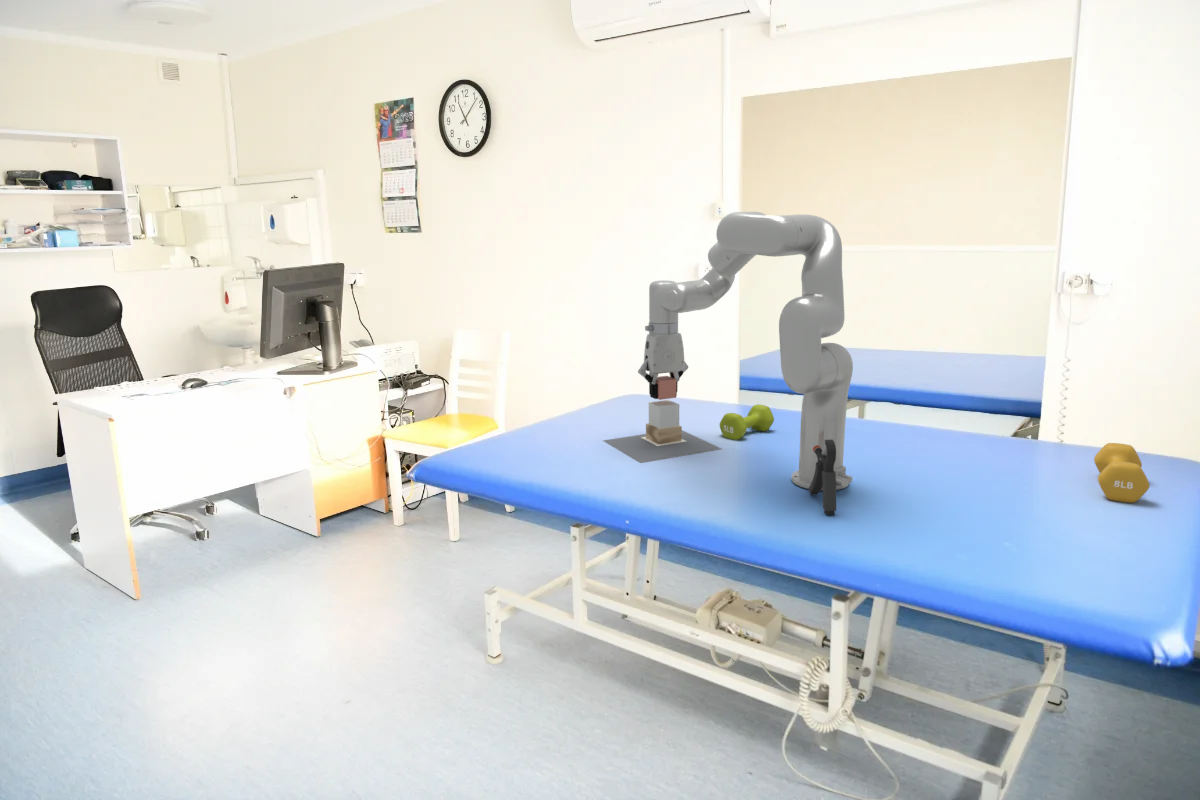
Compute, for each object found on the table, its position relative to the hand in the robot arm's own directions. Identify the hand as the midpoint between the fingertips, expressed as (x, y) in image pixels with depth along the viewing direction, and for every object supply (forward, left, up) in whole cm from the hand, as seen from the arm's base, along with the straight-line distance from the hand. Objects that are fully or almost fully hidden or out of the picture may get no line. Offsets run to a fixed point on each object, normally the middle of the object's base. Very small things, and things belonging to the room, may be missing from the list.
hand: (663, 395), depth 206 cm
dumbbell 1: (-6, -23, -13) cm, 27 cm away
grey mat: (-4, +3, -12) cm, 13 cm away
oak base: (0, 0, -12) cm, 12 cm away
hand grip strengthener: (-56, -6, -13) cm, 58 cm away
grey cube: (0, 0, -8) cm, 8 cm away
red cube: (0, 0, 0) cm, 0 cm away
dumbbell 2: (-78, -68, -13) cm, 105 cm away
